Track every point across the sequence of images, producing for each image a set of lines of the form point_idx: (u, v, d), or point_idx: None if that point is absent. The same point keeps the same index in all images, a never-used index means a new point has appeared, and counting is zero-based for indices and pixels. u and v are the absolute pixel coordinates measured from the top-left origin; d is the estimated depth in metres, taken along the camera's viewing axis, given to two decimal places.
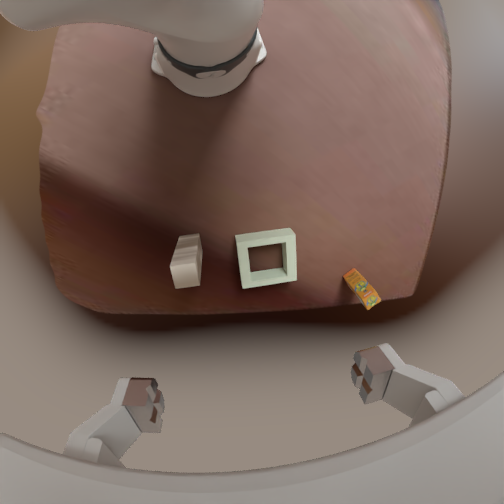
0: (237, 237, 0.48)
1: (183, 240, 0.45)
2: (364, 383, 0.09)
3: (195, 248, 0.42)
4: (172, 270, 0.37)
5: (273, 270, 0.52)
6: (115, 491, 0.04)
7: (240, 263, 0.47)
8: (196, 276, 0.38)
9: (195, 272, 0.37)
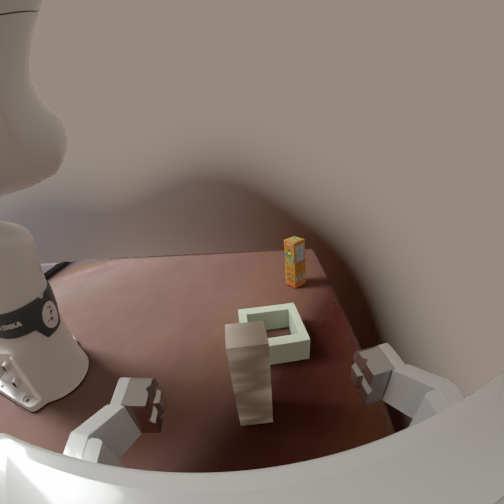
0: None
1: None
2: (364, 383, 0.09)
3: None
4: (232, 346, 0.22)
5: (291, 331, 0.41)
6: (115, 491, 0.04)
7: (272, 344, 0.34)
8: (247, 323, 0.25)
9: (240, 324, 0.25)
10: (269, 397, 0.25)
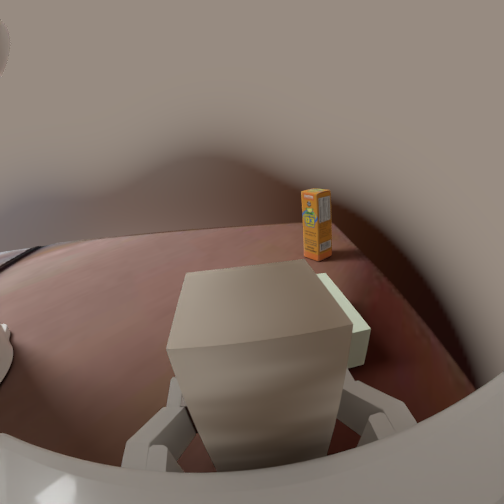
0: None
1: None
2: None
3: None
4: (198, 339, 0.05)
5: None
6: (115, 491, 0.04)
7: None
8: (256, 267, 0.08)
9: (234, 270, 0.08)
10: None
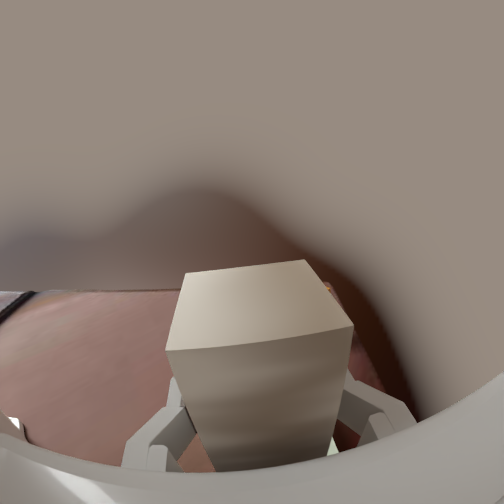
0: None
1: None
2: None
3: None
4: (197, 340, 0.05)
5: None
6: (115, 491, 0.04)
7: None
8: (256, 268, 0.08)
9: (234, 271, 0.08)
10: None
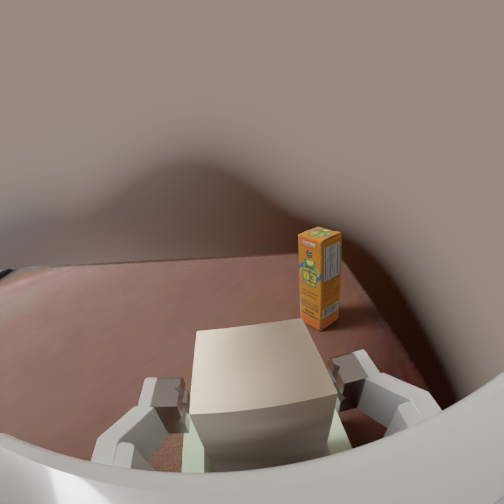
0: None
1: None
2: (337, 390, 0.09)
3: None
4: (214, 405, 0.06)
5: None
6: (115, 491, 0.04)
7: None
8: (259, 328, 0.09)
9: (240, 330, 0.09)
10: None
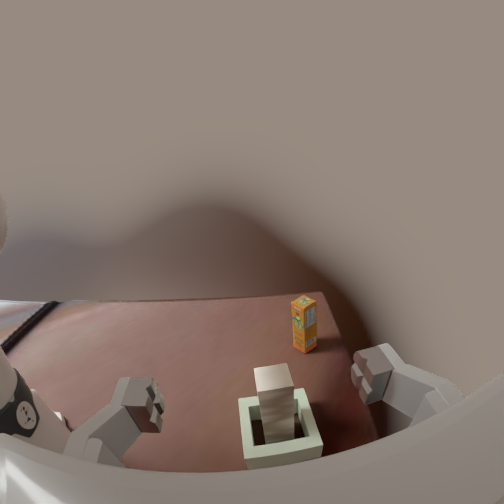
0: (246, 463, 0.25)
1: None
2: (364, 383, 0.09)
3: (258, 399, 0.29)
4: (263, 389, 0.25)
5: (300, 421, 0.31)
6: (115, 491, 0.04)
7: (279, 452, 0.24)
8: (273, 366, 0.28)
9: (267, 367, 0.28)
10: (292, 424, 0.27)
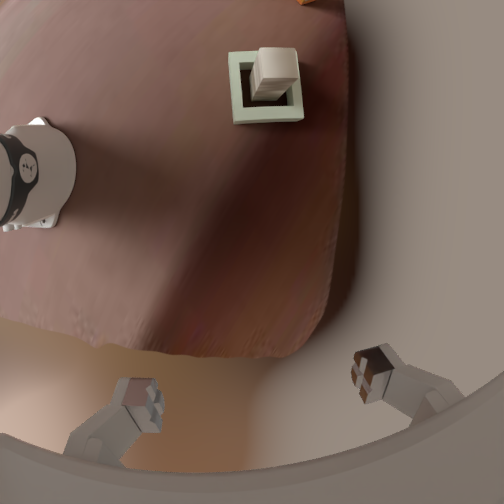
0: (233, 120, 0.34)
1: (252, 90, 0.31)
2: (364, 383, 0.09)
3: (254, 65, 0.26)
4: (269, 75, 0.23)
5: None
6: (115, 491, 0.04)
7: (265, 117, 0.32)
8: (280, 49, 0.22)
9: (274, 49, 0.22)
10: (282, 93, 0.30)
